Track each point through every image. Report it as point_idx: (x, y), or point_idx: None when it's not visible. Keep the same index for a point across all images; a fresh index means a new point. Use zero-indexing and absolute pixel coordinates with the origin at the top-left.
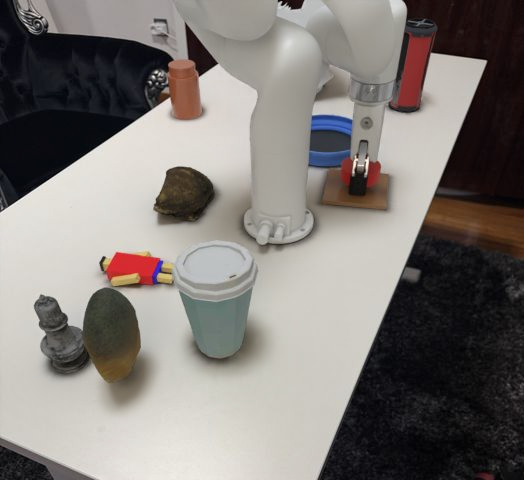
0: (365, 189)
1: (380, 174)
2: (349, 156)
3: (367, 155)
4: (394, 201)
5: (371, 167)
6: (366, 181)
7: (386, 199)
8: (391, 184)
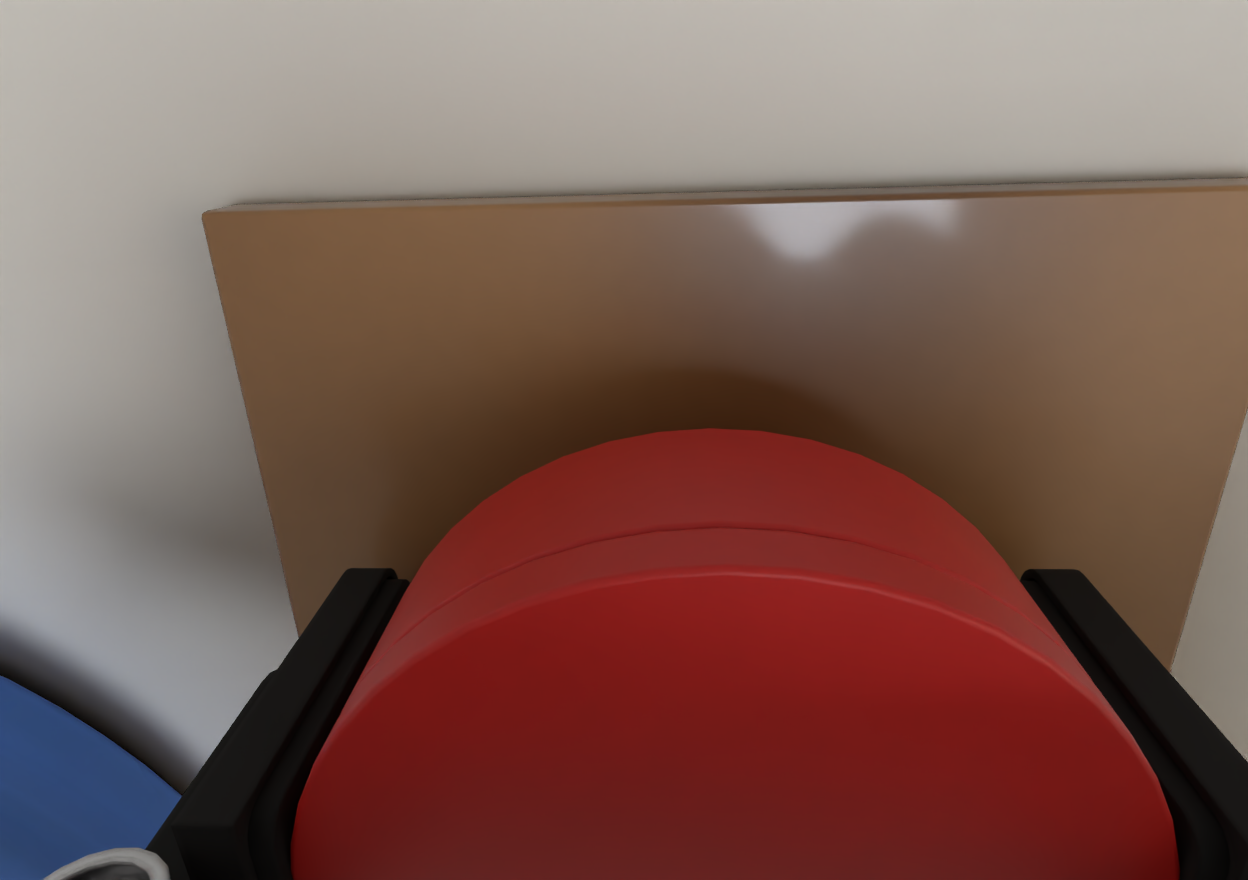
0: (1128, 637)
1: (274, 341)
2: (65, 822)
3: (272, 860)
4: (977, 34)
5: (798, 771)
6: (1226, 760)
7: (1082, 197)
8: (430, 122)
